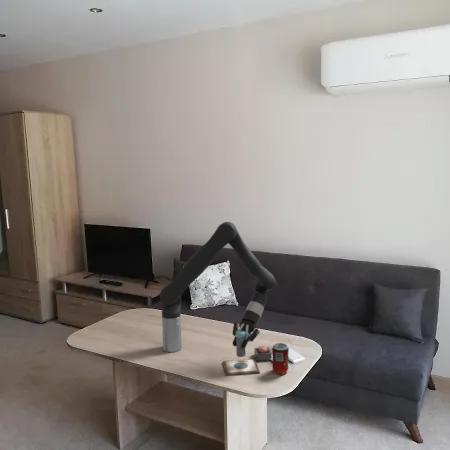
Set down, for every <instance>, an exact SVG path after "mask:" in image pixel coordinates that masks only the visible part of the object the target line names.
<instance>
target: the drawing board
mask: <svg viewBox="0 0 450 450" xmlns="http://www.w3.org/2000/svg"><path fill="white" fill-rule="evenodd" d="M222 363H223V364H222V365H223V369H224V372H225V376H226V377H228V376H241V375H243V376H244V375H256V374H257V375H258V374H261V372H260V369H259V367H258V365H257V360H256V358H250V359H249V358H248V359H245V358H244V359H233V360H223V361H222Z"/></svg>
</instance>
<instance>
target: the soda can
mask: <svg viewBox="0 0 450 450" xmlns="http://www.w3.org/2000/svg"><path fill="white" fill-rule="evenodd" d="M289 349H290V348H289V346H288V345H287V344H286V343H282V342H279V343H278V342H277V343H275V344H273V345H272V370H273V372H274V374H277V375H284V374H287V372H288V370H289Z"/></svg>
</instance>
